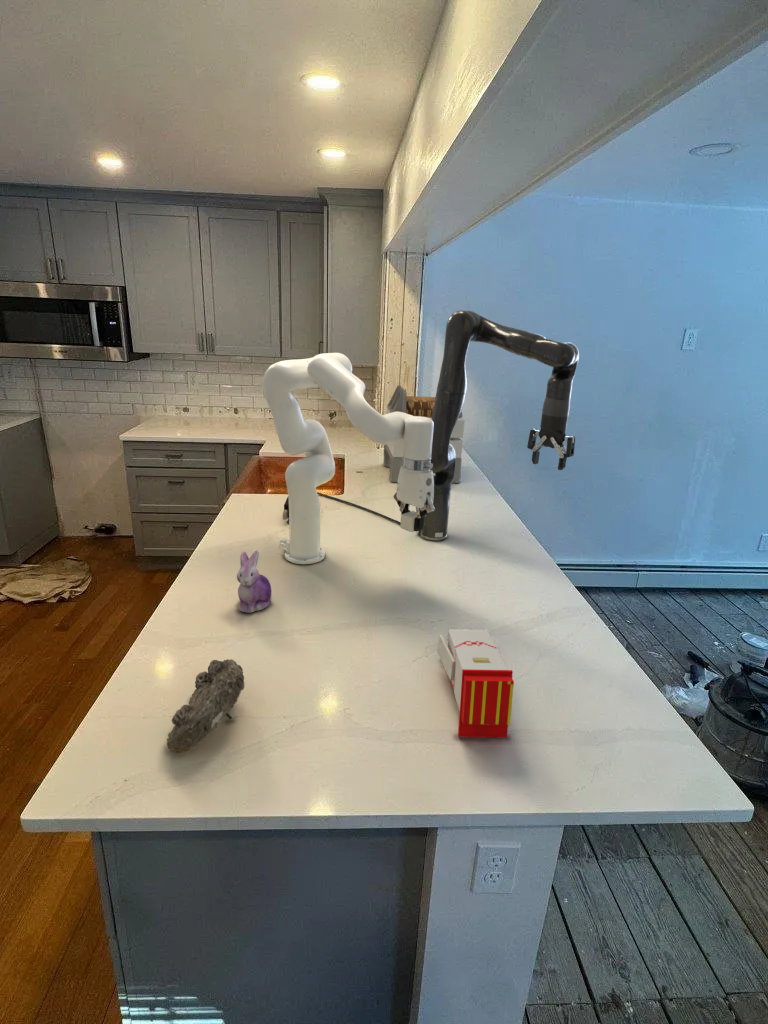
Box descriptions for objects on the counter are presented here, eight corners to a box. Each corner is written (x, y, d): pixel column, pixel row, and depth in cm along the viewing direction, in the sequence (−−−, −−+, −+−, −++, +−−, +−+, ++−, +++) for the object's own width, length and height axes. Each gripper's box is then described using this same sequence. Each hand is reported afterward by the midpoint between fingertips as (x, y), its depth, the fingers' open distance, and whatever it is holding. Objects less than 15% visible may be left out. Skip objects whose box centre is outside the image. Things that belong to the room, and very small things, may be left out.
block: (423, 528, 157) (424, 514, 156) (411, 532, 154) (412, 518, 153) (411, 524, 160) (412, 510, 159) (400, 527, 157) (401, 514, 156)
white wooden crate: (382, 463, 289) (386, 382, 275) (445, 464, 293) (451, 384, 279) (390, 482, 257) (394, 392, 243) (460, 483, 261) (468, 394, 247)
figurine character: (300, 529, 203) (305, 510, 217) (300, 510, 200) (305, 492, 213) (282, 528, 203) (287, 510, 216) (281, 509, 200) (287, 492, 213)
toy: (488, 613, 130) (523, 677, 101) (484, 667, 133) (517, 744, 104) (435, 612, 130) (455, 676, 101) (432, 666, 133) (451, 743, 103)
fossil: (192, 660, 117) (244, 628, 112) (224, 691, 120) (276, 661, 115) (142, 746, 98) (202, 712, 93) (182, 779, 101) (242, 748, 96)
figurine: (241, 617, 142) (239, 563, 137) (232, 599, 151) (229, 547, 146) (278, 610, 146) (277, 557, 141) (266, 592, 155) (265, 542, 150)
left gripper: (450, 468, 148) (443, 533, 154) (402, 455, 159) (398, 516, 165) (431, 473, 143) (425, 540, 149) (384, 458, 154) (380, 521, 160)
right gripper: (584, 415, 164) (575, 469, 170) (540, 408, 174) (533, 459, 179) (571, 418, 159) (562, 474, 165) (527, 410, 169) (520, 463, 174)
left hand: (411, 526), depth 157 cm, fingers closed on block, 4 cm apart
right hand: (547, 466), depth 172 cm, fingers open, 8 cm apart
